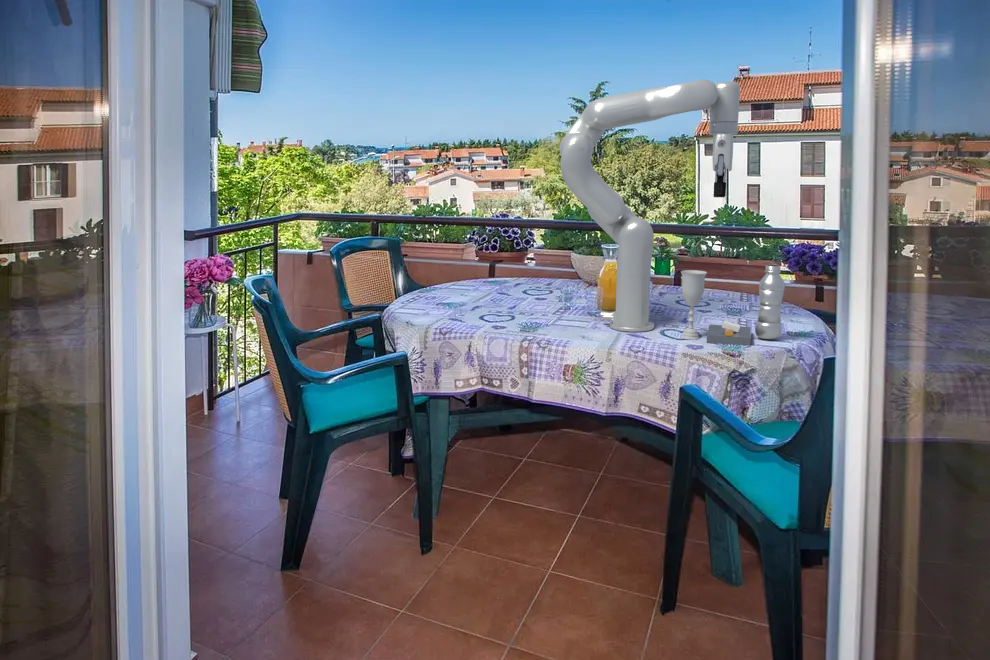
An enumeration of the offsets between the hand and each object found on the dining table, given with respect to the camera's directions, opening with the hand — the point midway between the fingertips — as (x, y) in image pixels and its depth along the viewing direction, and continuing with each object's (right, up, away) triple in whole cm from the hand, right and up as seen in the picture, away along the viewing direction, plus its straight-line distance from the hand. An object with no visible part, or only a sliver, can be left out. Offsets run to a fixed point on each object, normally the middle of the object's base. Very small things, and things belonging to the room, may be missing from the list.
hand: (719, 197), depth 213 cm
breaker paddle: (+1, -37, -7) cm, 38 cm away
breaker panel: (+1, -39, -6) cm, 40 cm away
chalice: (-9, -39, -5) cm, 41 cm away
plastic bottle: (+11, -40, -7) cm, 42 cm away
